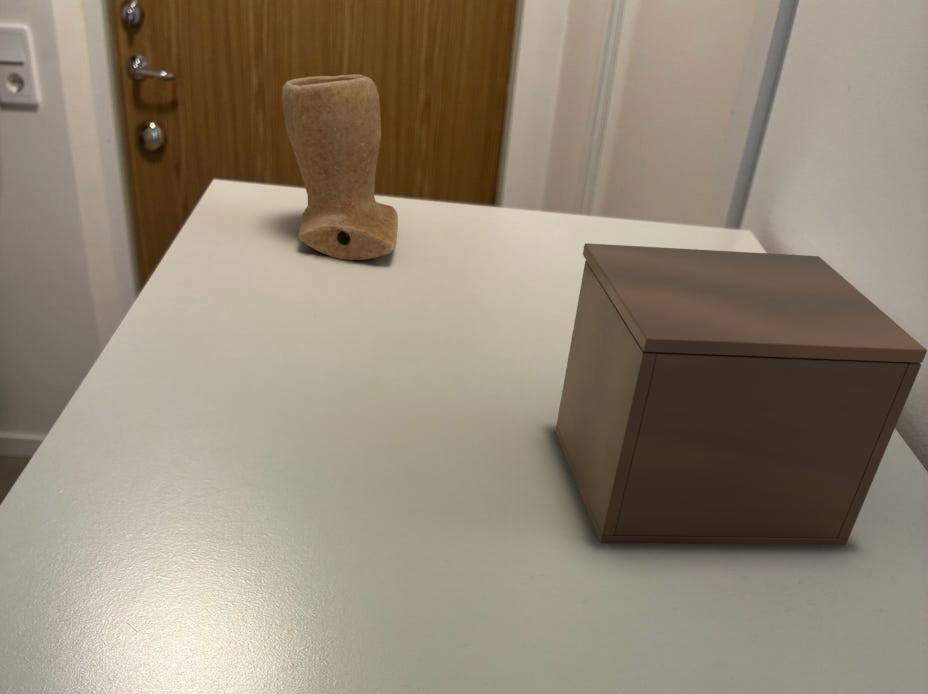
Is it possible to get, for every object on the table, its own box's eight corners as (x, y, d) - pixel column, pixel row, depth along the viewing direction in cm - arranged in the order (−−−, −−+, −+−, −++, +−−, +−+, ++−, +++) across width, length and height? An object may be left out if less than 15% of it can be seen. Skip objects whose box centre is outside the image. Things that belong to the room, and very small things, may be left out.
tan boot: (293, 211, 107) (291, 54, 98) (401, 222, 108) (410, 67, 98) (270, 259, 96) (266, 85, 86) (392, 270, 96) (401, 99, 87)
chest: (554, 434, 73) (585, 259, 65) (765, 439, 75) (820, 272, 67) (599, 546, 62) (643, 353, 54) (844, 548, 64) (922, 364, 56)
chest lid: (582, 255, 65) (584, 242, 65) (815, 267, 68) (819, 255, 67) (643, 352, 54) (646, 338, 53) (922, 363, 56) (928, 350, 56)
